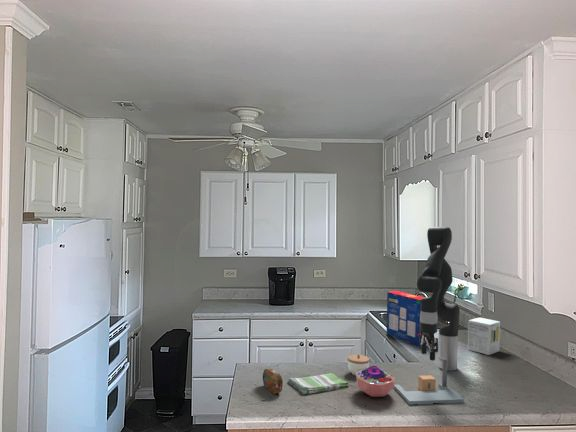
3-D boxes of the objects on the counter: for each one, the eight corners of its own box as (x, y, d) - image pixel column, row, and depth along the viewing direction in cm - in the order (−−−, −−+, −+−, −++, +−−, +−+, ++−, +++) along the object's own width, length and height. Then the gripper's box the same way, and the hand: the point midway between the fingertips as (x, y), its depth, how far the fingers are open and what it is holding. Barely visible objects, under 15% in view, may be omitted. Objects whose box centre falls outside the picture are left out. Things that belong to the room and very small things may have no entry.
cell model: (355, 402, 190) (355, 375, 190) (354, 384, 210) (355, 359, 210) (396, 405, 188) (397, 378, 187) (392, 386, 207) (392, 362, 207)
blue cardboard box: (428, 344, 276) (429, 298, 276) (418, 346, 272) (419, 299, 272) (395, 333, 300) (396, 291, 300) (386, 334, 296) (387, 291, 296)
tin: (261, 384, 207) (262, 366, 207) (268, 383, 208) (268, 365, 208) (277, 397, 193) (277, 377, 193) (283, 395, 195) (284, 376, 195)
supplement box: (488, 355, 257) (489, 324, 257) (467, 349, 267) (467, 319, 267) (500, 351, 265) (500, 321, 265) (478, 345, 276) (479, 317, 275)
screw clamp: (392, 386, 208) (392, 356, 208) (441, 384, 211) (442, 355, 211) (409, 404, 188) (410, 372, 188) (463, 402, 191) (464, 370, 191)
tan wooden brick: (418, 388, 206) (418, 375, 206) (430, 388, 207) (431, 375, 207) (422, 392, 201) (422, 379, 201) (435, 392, 202) (435, 379, 202)
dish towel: (287, 382, 211) (287, 375, 211) (329, 375, 221) (330, 368, 221) (304, 396, 196) (304, 388, 196) (349, 388, 206) (349, 380, 205)
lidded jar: (359, 379, 216) (359, 359, 216) (342, 372, 224) (343, 353, 224) (373, 374, 223) (374, 355, 223) (357, 368, 231) (357, 349, 231)
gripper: (414, 317, 210) (413, 352, 210) (427, 325, 196) (427, 362, 196) (429, 317, 211) (429, 351, 211) (444, 325, 197) (443, 362, 197)
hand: (428, 357), depth 204 cm, fingers open, 8 cm apart
